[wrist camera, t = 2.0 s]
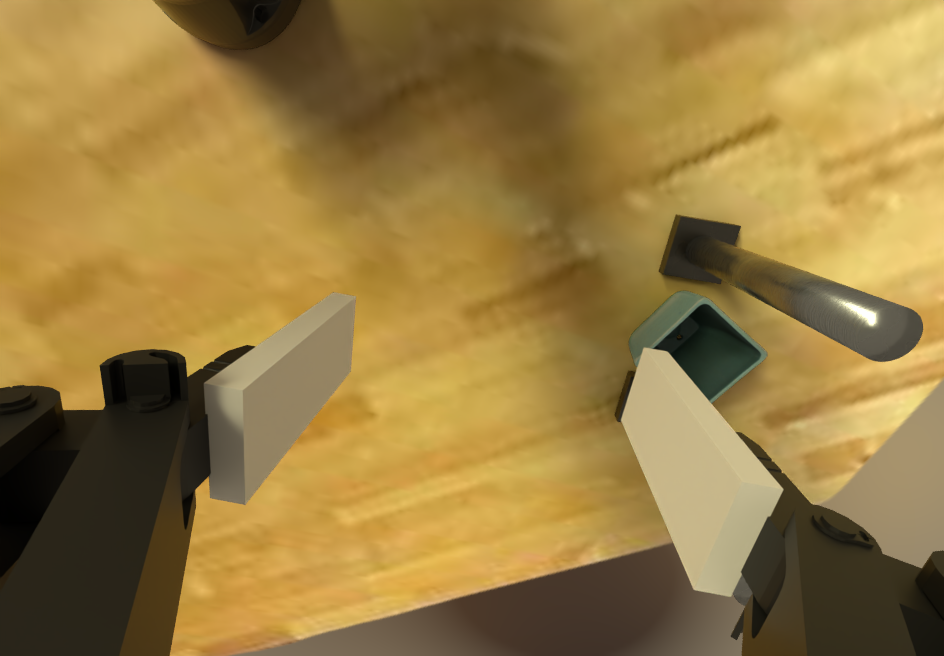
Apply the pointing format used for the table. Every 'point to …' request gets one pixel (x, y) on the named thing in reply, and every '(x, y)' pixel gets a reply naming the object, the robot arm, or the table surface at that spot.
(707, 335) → the flower pot
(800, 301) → the post
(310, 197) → the table surface
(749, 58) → the table surface
